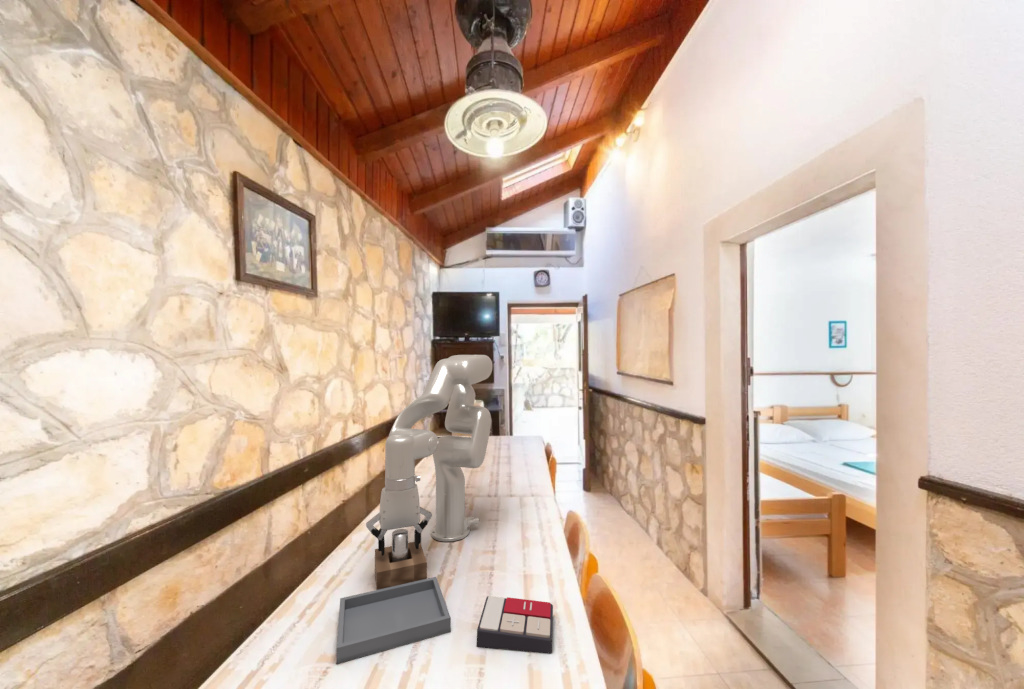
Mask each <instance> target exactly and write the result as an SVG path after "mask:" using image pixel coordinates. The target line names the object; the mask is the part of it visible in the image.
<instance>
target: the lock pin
mask: <svg viewBox="0 0 1024 689" xmlns="http://www.w3.org/2000/svg"><path fill="white" fill-rule="evenodd" d="M408 543H409V530H408V529H406V528H398V529H394V530H393V531H392V534H391V546H392V563H393V562H398V561H403V560H408Z"/></svg>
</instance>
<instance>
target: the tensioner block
mask: <svg viewBox="0 0 1024 689" xmlns="http://www.w3.org/2000/svg"><path fill="white" fill-rule="evenodd" d="M427 564H428V561H427V559H426V555H425V552H424V550H423V546H422V542H421V543H420V544H419V549H417V548H416V547H415V544H414V541H412V542H408V560H403V561H398V562H393V563H392V545H390V546H385V554H384V555H383V556H382V555H381V551H378V548H374V576H375V578H374V579H375V581H374V582H375V590H379V589H384V588H388V587H393V586H397V585H401V584H406V583H410V582H415V581H419V580H424V579H428V565H427Z"/></svg>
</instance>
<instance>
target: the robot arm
mask: <svg viewBox="0 0 1024 689" xmlns="http://www.w3.org/2000/svg"><path fill="white" fill-rule="evenodd" d="M492 371H493V362H492V359H491V358H490V357H489V356H488V355H486V354H457V355H456V354H455V355H451V356H449V357H448V358H443V359H439V361H437V363H435V365H434V367H433V370H432V372H431V374H430V376H429V378H428V381H427V383H426V385H425V387H424V390H423V392H422V394H420V396H419V397H417V398H416V399H414V400H413V401H411V403H410V404H408V405H407V406H406V407H405V408H404V409H402V411H401V412H400V413H399V414H398V415H397V417H396V419H395V421H394V422H393V425H392V427H391V429H390V431H389V434H388V437H387V438H386V440H385V442H384V443H385V445H384V447H385V448H384V449H385V450H384V452H385V453H384V455H385V456H384V458H385V460H384V461H385V462H384V464H385V465H384V467H385V468H384V470H385V473H384V474H385V475H384V476H385V477H384V487H382V489H381V493H380V501H379V512H378V513H377V514H376V515H374V516H373V517H372V518H370V519H369V520H367V521H366V523H365V526H366V528H367V530H368V531H369V532H370V533H371V534H372V536H374V537H375V538H376V539H377V540H378V542H377V544H378V546H377V549H378V551H381V555H382V556H383V555H384V554H385V547H386V546H385V544H386V543H385V541H386V540H385V535H386V533H387V532H388V531H392V530H398V529H405V528H409V527H414V533H413V534H414V541H413V542H414V544H415V547H416V548H417V549H419V544H420V543H421V544H422V533H423V530H424V529H425V528H426V527H427V526H428V524H429V522H430V520H431V519H432V518H433V513H432V512H431V511H430V510H427V509H425V508H423V507H421V504H420V503H421V502H420V496H419V488H418V484H416V483H417V482H420V481H421V475H416V471H415V470H416V466H415V465H416V460H418V459H425V458H428V457H430V456H432V458H433V464H434V469H435V525H434V526H433V527H432V528H431V529H430V535H431V538H433V539H434V540H437V541H439V542H445V543H446V542H456V541H460V540H462V539H464V538H466V537H467V536H468V535H469V534H470V533H471V532H470V530H471V528H470V527H471V526H472V525H474V526H476V525H479V524H480V518H479V517H474V516H471V515H470V516H468V517H467V516H466V478H465V474H464V472H463V470H462V468H467V469H477V468H480V467H481V466H482V465H483V463H484V461H485V458H486V453H487V448H488V442H489V438H490V432H491V428H492V415H491V412H490V410H489V409H488V408H487V407H485V406H479V405H475V399H476V392H475V389H474V388H473V386H472V385H475V384H478V383H480V382H482V381H486V380H487V379H489V377H490V376H491V374H492ZM446 408H447V410H446V414H445V421H444V427H445V429H446V431H447V432H449V433H453V434H461V435H471V436H470V437H469V436H468V437H467V436H458V435H457V436H455V435H444V436H440V437H438V436H437V434H436V433H435V432H434V431H432V430H429V429H420V428H418V429H417V428H413V426H414V425H415V424H416V423H418V421H420V420H422V419H424V418H425V417H428V416H431V415H433V414H435V413H438V412H441V411H442V410H443V411H444V410H445V409H446ZM421 515H423V516H424V518H423V519H422V520H421ZM420 521H421V522H420ZM378 522H379V525H380V527H379V529H378V528H377V527H375V524H377V523H378Z"/></svg>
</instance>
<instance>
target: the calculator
mask: <svg viewBox="0 0 1024 689" xmlns="http://www.w3.org/2000/svg"><path fill="white" fill-rule="evenodd" d="M553 613H554V605H553V604H552V603H551V602H548V601H541V600H540V601H538V600H533V599H524V598H518V597H517V598H516V597H508V596H507V597H502V596H501V597H500V596H491V595H488V596H486V598H485V601H484V605H483V608H482V612H481V614H480V619H479V623H478V625H477V629H476V647H477V649H478V648H479V649H480V648H481V649H490V650H498V649H504V650H508V651H509V650H510V651H515V652H516V651H518V652H525V653H534V654H535V653H536V654H545V655H546V654H547V655H550V654H553V631H554V630H553V621H554V618H553V617H554V614H553Z"/></svg>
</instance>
